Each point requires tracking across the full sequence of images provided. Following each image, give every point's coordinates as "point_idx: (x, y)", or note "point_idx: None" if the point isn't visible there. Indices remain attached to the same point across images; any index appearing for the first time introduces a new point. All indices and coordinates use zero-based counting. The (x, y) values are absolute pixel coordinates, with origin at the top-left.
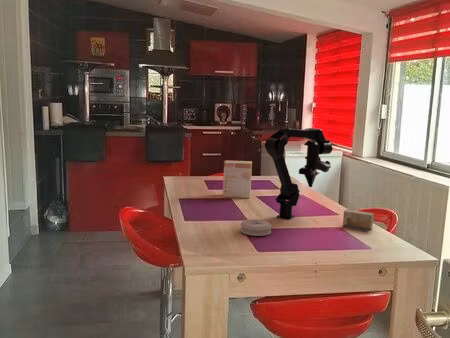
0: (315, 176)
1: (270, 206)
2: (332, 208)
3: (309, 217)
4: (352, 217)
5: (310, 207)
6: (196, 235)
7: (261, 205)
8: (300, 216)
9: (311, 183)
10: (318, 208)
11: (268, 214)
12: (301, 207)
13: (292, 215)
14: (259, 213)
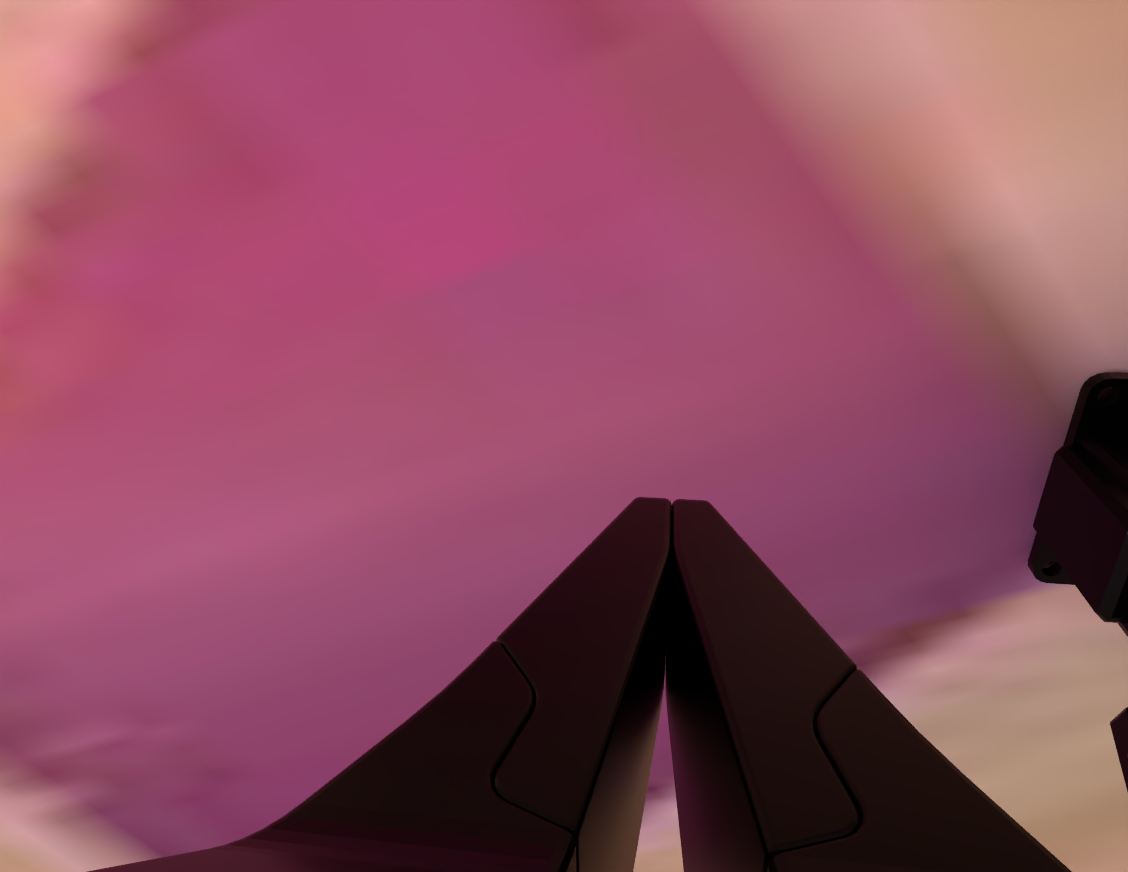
0: (355, 821)
1: (656, 786)
2: (12, 6)
3: (982, 129)
4: None
5: (286, 365)
6: None
7: (681, 865)
8: (993, 297)
9: (781, 598)
10: (235, 232)
11: (1116, 705)
12: (398, 474)
13: (1101, 411)
14: (1116, 796)
